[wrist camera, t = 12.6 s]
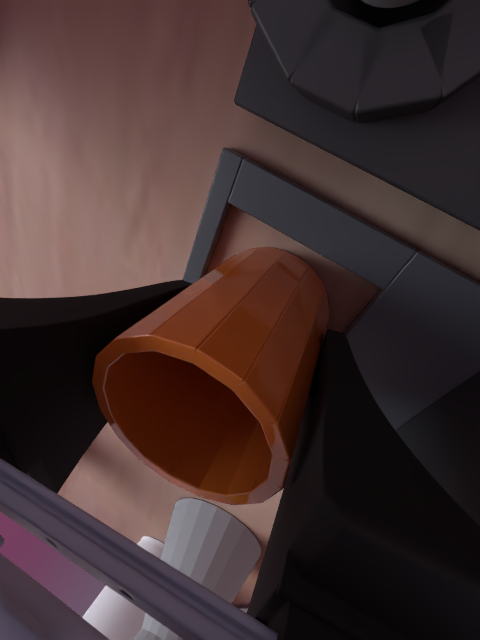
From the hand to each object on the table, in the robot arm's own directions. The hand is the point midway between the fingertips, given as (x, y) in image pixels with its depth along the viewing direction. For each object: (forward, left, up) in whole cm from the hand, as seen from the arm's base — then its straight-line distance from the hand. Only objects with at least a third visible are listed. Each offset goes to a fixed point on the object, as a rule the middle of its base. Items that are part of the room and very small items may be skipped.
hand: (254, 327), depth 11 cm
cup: (0, 0, -2) cm, 2 cm away
